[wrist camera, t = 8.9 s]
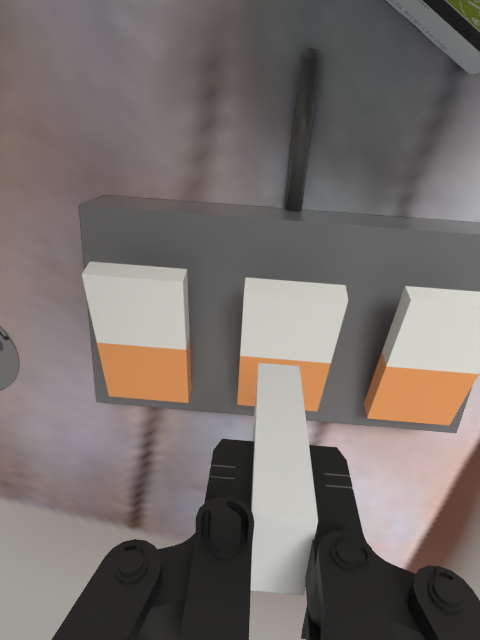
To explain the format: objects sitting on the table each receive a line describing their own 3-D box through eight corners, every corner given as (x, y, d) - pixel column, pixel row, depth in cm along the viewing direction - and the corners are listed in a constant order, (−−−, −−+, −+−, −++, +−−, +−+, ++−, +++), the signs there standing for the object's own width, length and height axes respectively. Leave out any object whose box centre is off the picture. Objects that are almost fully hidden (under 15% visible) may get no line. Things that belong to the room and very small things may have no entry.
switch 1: (95, 253, 22) (81, 274, 21) (189, 260, 22) (182, 282, 21) (118, 373, 28) (108, 396, 26) (193, 379, 28) (188, 403, 26)
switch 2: (401, 277, 22) (410, 299, 20) (499, 284, 22) (516, 308, 20) (362, 393, 28) (366, 418, 26) (439, 400, 27) (449, 425, 26)
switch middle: (246, 268, 22) (243, 292, 20) (344, 275, 22) (348, 300, 20) (239, 379, 28) (237, 404, 26) (315, 386, 28) (317, 411, 26)
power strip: (93, 36, 23) (61, 18, 20) (533, 64, 23) (584, 51, 19) (115, 371, 32) (96, 402, 29) (434, 398, 32) (456, 433, 28)
